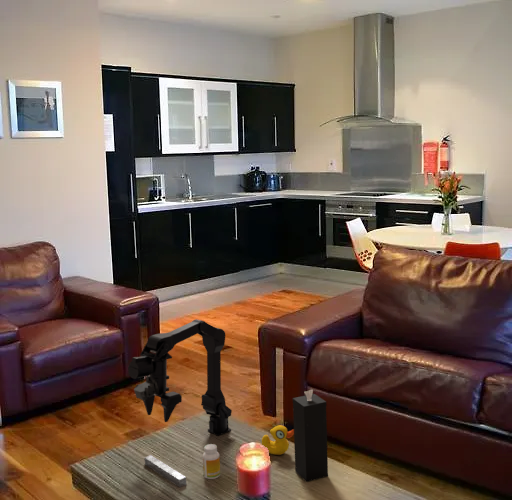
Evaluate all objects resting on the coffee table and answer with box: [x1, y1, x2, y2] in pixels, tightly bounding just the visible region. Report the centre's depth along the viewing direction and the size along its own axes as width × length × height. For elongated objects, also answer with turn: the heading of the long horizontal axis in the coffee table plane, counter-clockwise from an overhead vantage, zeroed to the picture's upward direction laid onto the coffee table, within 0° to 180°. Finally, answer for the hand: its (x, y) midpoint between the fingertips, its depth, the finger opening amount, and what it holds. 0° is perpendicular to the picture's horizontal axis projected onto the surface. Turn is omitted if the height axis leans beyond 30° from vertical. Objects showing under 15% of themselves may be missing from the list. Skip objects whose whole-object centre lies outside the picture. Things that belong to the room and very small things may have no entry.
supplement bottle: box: [202, 443, 221, 480], centre depth 202 cm, size 5×5×10 cm
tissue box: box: [292, 389, 329, 482], centre depth 199 cm, size 8×8×28 cm
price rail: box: [143, 454, 187, 488], centre depth 204 cm, size 3×21×2 cm, turn 40°
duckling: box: [261, 424, 294, 456], centre depth 215 cm, size 11×5×10 cm, turn 81°
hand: (157, 418), depth 213 cm, fingers open, 9 cm apart
